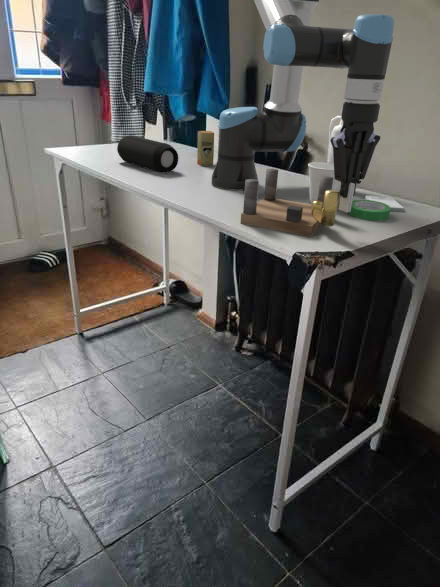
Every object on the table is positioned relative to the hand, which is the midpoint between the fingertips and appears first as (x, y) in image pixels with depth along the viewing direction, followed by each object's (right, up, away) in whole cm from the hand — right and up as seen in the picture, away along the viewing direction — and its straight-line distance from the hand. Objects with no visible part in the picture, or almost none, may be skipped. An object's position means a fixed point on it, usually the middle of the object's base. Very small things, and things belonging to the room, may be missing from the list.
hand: (344, 210), depth 105 cm
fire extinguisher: (+8, +15, +42) cm, 46 cm away
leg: (-4, -1, +4) cm, 6 cm away
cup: (0, +7, +26) cm, 27 cm away
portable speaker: (-56, +26, +59) cm, 85 cm away
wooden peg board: (-12, 0, +11) cm, 16 cm away
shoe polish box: (-35, +30, +67) cm, 82 cm away
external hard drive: (+19, +6, +28) cm, 35 cm away
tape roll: (+12, +2, +19) cm, 22 cm away
